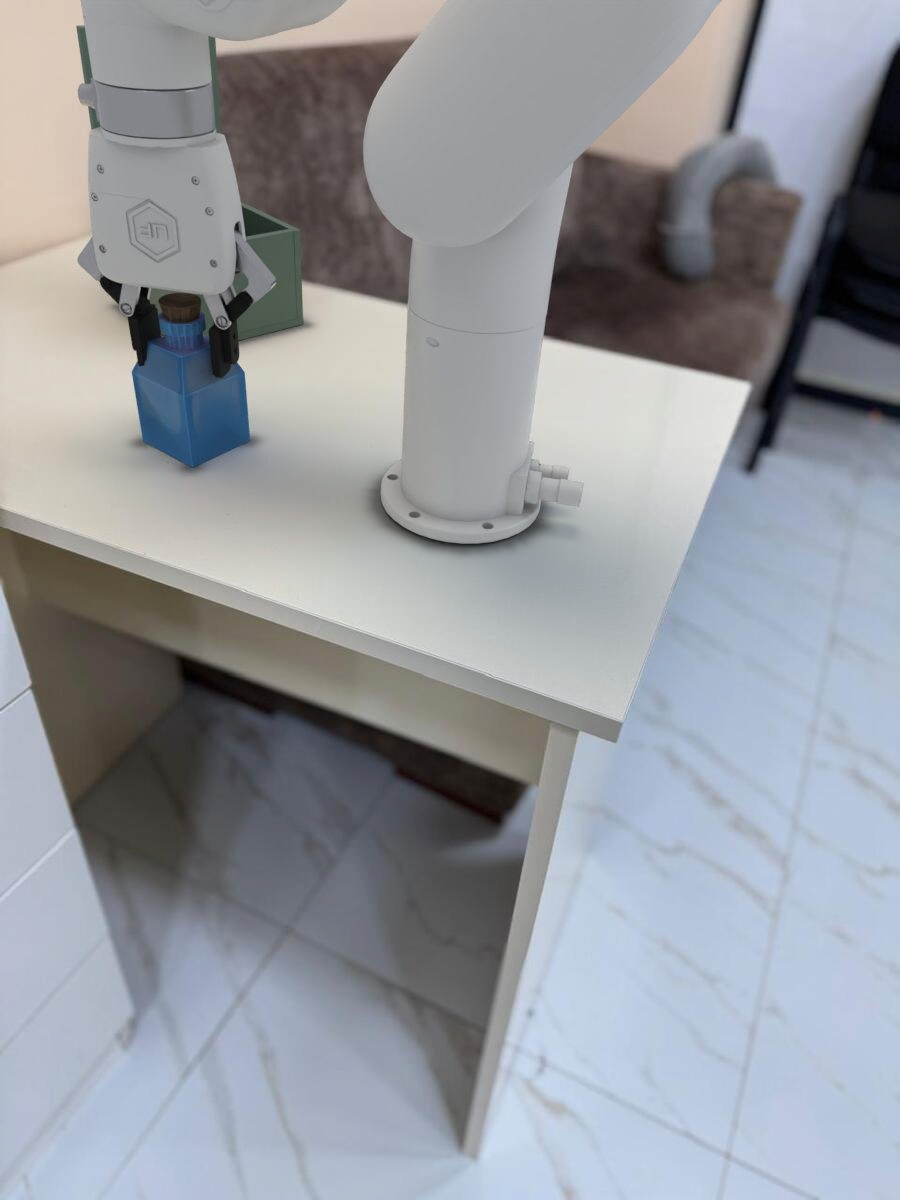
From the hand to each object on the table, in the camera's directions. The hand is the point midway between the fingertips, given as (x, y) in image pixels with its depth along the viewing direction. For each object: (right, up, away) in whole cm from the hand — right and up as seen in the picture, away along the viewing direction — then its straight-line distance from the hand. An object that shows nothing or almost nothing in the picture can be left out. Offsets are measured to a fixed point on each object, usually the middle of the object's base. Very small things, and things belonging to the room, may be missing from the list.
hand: (187, 363), depth 72 cm
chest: (-5, +12, +25) cm, 28 cm away
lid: (-8, +29, +18) cm, 35 cm away
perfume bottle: (0, -6, +4) cm, 7 cm away
